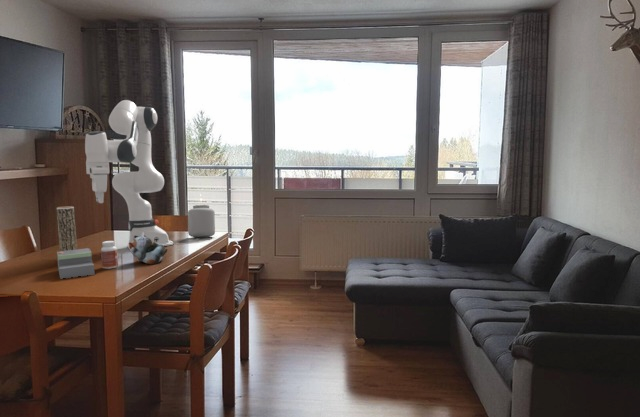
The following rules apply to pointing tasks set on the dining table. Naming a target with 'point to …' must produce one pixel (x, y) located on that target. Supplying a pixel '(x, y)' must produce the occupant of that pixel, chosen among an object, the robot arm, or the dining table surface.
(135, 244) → the blue-grey lumpy figure
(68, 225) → the bark log
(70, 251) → the stepped stand
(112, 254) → the pill bottle
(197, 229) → the jar
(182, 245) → the dining table surface
